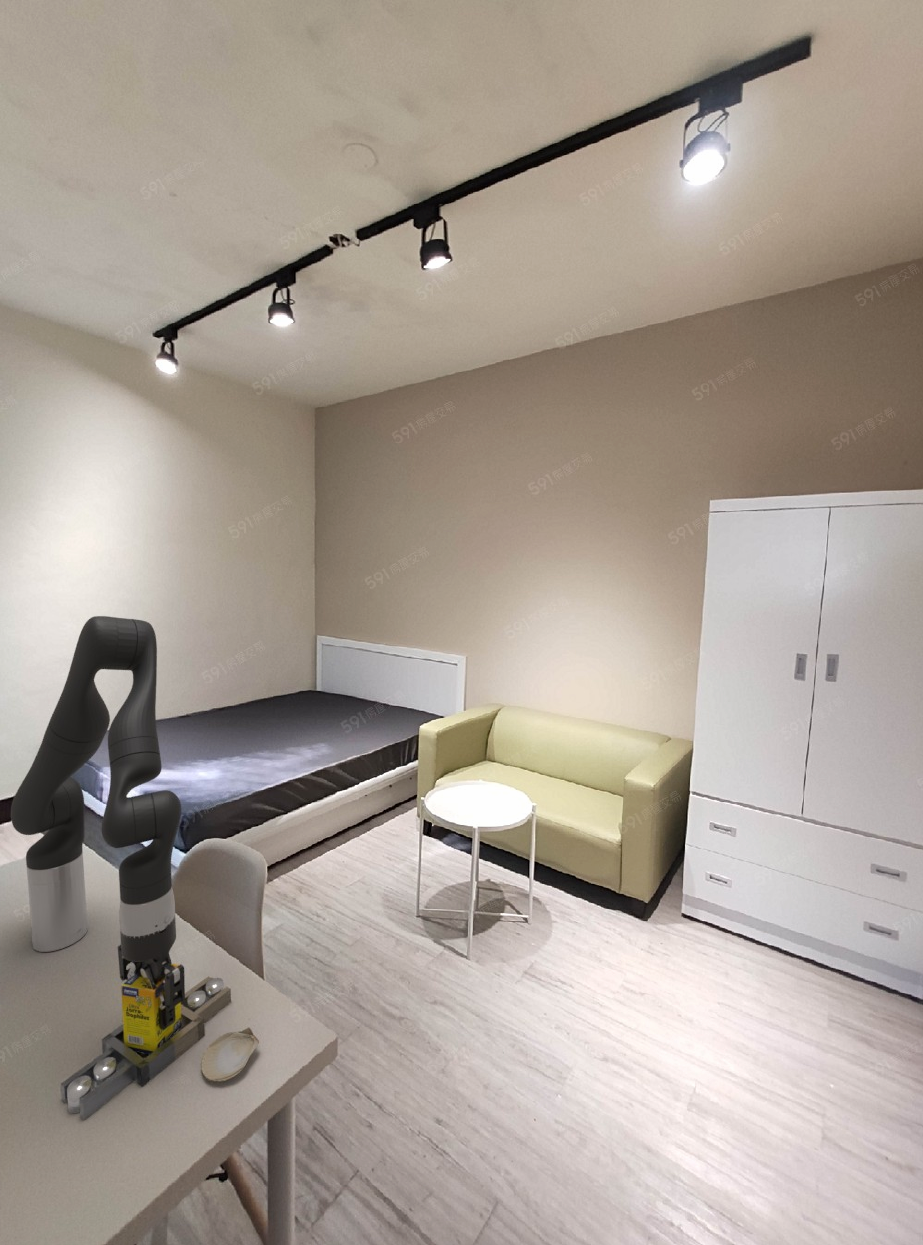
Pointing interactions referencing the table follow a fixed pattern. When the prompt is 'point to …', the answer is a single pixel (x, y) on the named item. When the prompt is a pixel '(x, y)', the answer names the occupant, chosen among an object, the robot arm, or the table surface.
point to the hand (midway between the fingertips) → (153, 1015)
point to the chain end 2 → (199, 1011)
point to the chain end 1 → (112, 1073)
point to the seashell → (228, 1055)
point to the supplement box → (144, 1016)
